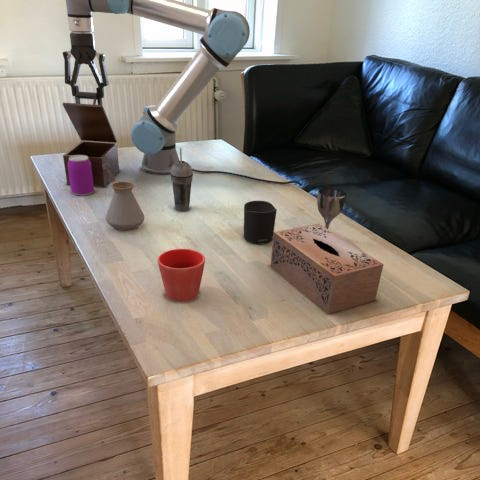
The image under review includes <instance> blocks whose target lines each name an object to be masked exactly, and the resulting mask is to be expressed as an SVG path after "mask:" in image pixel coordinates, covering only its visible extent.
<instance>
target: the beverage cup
mask: <svg viewBox="0 0 480 480" xmlns="http://www.w3.org/2000/svg"><path fill="white" fill-rule="evenodd" d="M182 151H183V150H182V147H180V148H179V160H180V161H178V162H176V163H175V164H174V165H173V166H172V168H171V173H170V174H169V175H170V180H171V183H172V193H173V199H174V200H173V201H174V202H173V203H174V207H175V208H174V209H175V211H178V212H187V211H189V210H190V205H191V193H192V192H191V191H192V181H193V176H194V171H192V169H193V168H192V166H191V164H190V163H189V162H187V161H185V160H183V155H182V154H183V153H182Z"/></svg>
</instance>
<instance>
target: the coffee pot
mask: <svg viewBox="0 0 480 480" xmlns="http://www.w3.org/2000/svg"><path fill="white" fill-rule="evenodd" d="M104 165H105V167H106V168H103V165H102V168H103V169H106V170H107V171H108V175H109V176H110V178H111V181H112V184H111V185H110V186H111V189H112V190H113V194H112V198H111V200H110V204H109V206H108V209H107V213H106V215H105V221H106V223H107V224H108V225H109V226H110V227H111V228H113V229H114V230H115V231H118V232H133V231H136V230H137V229H138V228H139V227H140V226H142V224H143V223H144V221H145V215H144V212H143V210H142V208H141V206H140V204H139V202H138V201H137V199H136V197H135V195H134V192H133V189H134V187H135V183H133V182H130V181H117V180H116V178H115V176H113V173H112V172H111V171H110V168H109V167H108V165H109V164H106V163H105V164H104Z"/></svg>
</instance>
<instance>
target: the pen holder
mask: <svg viewBox="0 0 480 480" xmlns="http://www.w3.org/2000/svg"><path fill="white" fill-rule="evenodd" d="M277 210H278V209H277V208H276V207H275V205H274V204H272V203H271V202H269V201H266V200H250V201H247V202H246V203H245V204H244V206H243V238H244V240H245V241H246V242H248V243H250V244H254V245H265V244H269V243H271V242H273V234H274V232H275V226H276V219H277Z"/></svg>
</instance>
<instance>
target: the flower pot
mask: <svg viewBox="0 0 480 480" xmlns="http://www.w3.org/2000/svg"><path fill="white" fill-rule="evenodd" d="M205 262H206V257H205V255H204V254H203V253H201V252H200V251H198V250H195V249H191V248H174V249H170V250H169V249H168V250H166V251H164V252H162V253H160V254H159V256H158V257H157V265H158V268H159V272H160V276H161V280H162V284H163V289H164V292H165V295H166V297H167V298H168V299H169V300H171V301H173V302H179V303H185V302H190V301H193V300H195V299H196V298H198V295H199V292H200V288H201V284H202V279H203V274H204V269H205V264H206V263H205Z"/></svg>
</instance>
